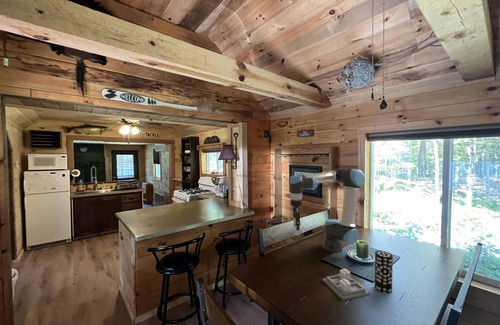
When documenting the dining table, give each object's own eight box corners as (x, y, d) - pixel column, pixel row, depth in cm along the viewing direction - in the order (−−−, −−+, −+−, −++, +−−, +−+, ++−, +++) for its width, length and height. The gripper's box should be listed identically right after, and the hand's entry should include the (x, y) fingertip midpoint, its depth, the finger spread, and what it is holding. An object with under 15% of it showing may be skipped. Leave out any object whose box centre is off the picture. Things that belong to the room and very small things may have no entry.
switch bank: (347, 276, 135) (347, 271, 135) (369, 294, 118) (369, 289, 118) (322, 280, 131) (322, 275, 131) (342, 300, 114) (342, 294, 113)
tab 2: (345, 287, 121) (345, 277, 121) (350, 292, 118) (350, 281, 117) (339, 289, 120) (339, 278, 120) (344, 293, 117) (344, 283, 116)
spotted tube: (373, 283, 128) (374, 249, 127) (390, 286, 125) (390, 251, 124) (376, 291, 120) (376, 256, 119) (393, 295, 117) (394, 258, 116)
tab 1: (345, 276, 132) (345, 267, 132) (350, 280, 128) (350, 271, 128) (339, 277, 131) (340, 268, 131) (344, 281, 127) (344, 272, 127)
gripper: (289, 195, 155) (289, 224, 156) (292, 203, 131) (292, 238, 132) (299, 195, 155) (299, 224, 156) (304, 203, 130) (305, 238, 131)
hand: (296, 231), depth 144 cm, fingers open, 13 cm apart
